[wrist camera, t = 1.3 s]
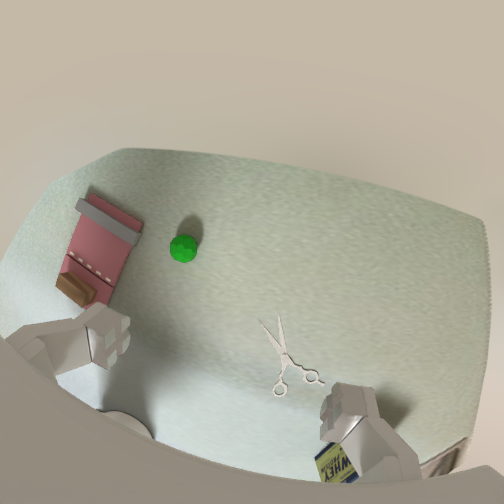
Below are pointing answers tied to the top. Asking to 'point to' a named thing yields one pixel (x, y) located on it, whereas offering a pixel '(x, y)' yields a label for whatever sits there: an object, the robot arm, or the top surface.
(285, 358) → the scissors
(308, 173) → the top surface
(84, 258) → the ticket
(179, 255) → the polyhedron
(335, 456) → the protein box
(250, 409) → the top surface
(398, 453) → the robot arm
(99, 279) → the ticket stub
